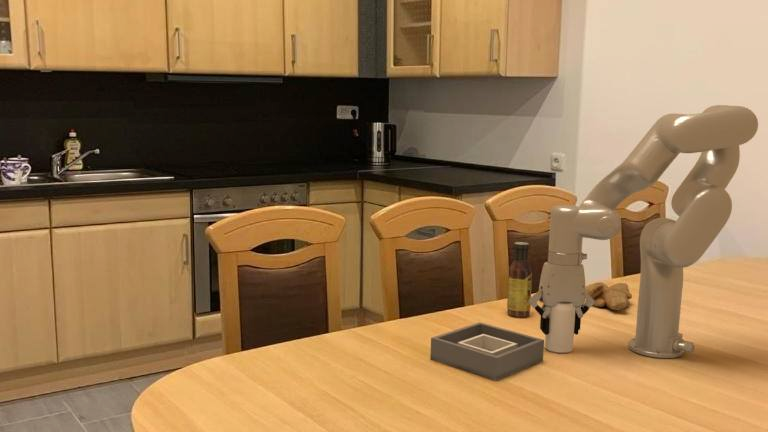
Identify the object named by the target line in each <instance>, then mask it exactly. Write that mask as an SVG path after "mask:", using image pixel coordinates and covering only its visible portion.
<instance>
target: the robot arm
mask: <svg viewBox="0 0 768 432" xmlns="http://www.w3.org/2000/svg"><path fill="white" fill-rule="evenodd" d="M758 128H759V120H758V118H757V115H756V114H755V112H754V111H752V110H751V109H749V108H748V107H745V106H740V105H727V104H717V105H711V106H708V107H707V108H705V109H704V110H703V111H702V112H701V113H691V114H690V113H689V114H684V113H668V114H664V115H662V116H661V117H659V118H658V119H657V120H656V121H655V123H654V124H653V125H652V126H651V127H650V129H649V130H648V131H647V132H646V133H645V135H644V136H643V137H642V138H641V140H640V141H639V142H638V144H637V145H636V146H635V147H634V148H633V150H632V151H631V152H630V153H629V155H628V156H627V157H626V158H625V159H624V160H623V162H622V163H620V164H619V165H617V166H616V167H615V168H614V169H613V170H612V171H611V172H609V173H608V174H607V175H605V176H604V177H603V179H601V180H600V181H599V182H598V183H597V184H596V185H595V186H594V187H593V189H592V190H590V192H589V193H588V194H587V196H586V197H585V198H584V199H583V201H582V202H581V204H579V206H577V205H573V204H558V205H554V206H553V207H552V208H551V211H550V220H549V221H550V222H549V235H548V236H549V238H548V251H547V261H545V262H544V263H543V266H542V269H541V274H540V279H539V284H538V285H539V287H538V291H537V292H535V294H533V295H531V298H530V299H529V300H528V302H529V303H530V304H531V305H530V306H531V307H532V308H533V309H534V310H535V311H536V312H537V313H538V314H539V315H540V321H539V322H540V323H539V328H540V331H541V332H542V333H543V334H544V335H545V336H546V335H548V334H549V318H548V314H549V312H550V311H551V308H552V307H555V306H557V304H558V303H572V305H573V306H574V307H575V325H574V335H576V336H577V335H579V330H581V325H582V323H581V321H582V318H583V317H584V315H585V314H587V312H588V311H589V310H590V309H591V308H592V306H594V305H593V304H594V303H595V300H594V299H593V298H592V297H591V296H590V295H589V294H588V293H586V292H585V287H586V276H585V267H584V264H583V261H584V260H588V254H587V253H583V252H582V251H583V241H584V239H585V238H586V239H591V240H592V239H593V240H598V241H606V240H607V241H608V240H610V239H613V238H616V236H618V234H619V233H620V231H621V228H622V220H621V217H620V216H619V214H618V213H617V212H616V211H615V210H616V209H617V207H618V206H619V205H620V204H621V203H622V202H624V201H625V200H626V199H627V198H629V197H630V196H632V195H634V194H636V193H638V192H641V191H644V190H647V189H648V188H650V187H652V186H654V185H655V184H656V183H657V182H658V180H659V179H660V178H661V176H662V175H663V174H664V173H665V172H666V170H667V169H668V168H670V167H669V166H670V165H671V164H672V163H673V162H674V161H675V159H676V158H677V157H678V155H680V154H696V153H700V155H699V157H698V159H697V161H696V162H695V164H694V166H693V167H692V168H691V170H690V171H689V173H687V175H686V176H685V178H684V179H683V181H682V182H681V184H680V185H679V186H678V187H677V188H676V190H675V191H674V193H673V195H672V196H671V197H672V198H671V202H670V203H671V204H670V205H671V208H672V210H673V213H674V214H676V215H677V216H678V218H677V219H676V220H675V219H672V218H667V217H657V218H654V219H652V220H650V221H648V222H647V223H646V224H645V226H644V227H643V229H642V230H641V233H640V237H639V250H640V251H639V253H640V277H639V278H640V279H639V288H638V299H637V300H638V301H637V311H636V312H637V315H636V326H635V327H636V328H635V336H634V337H633V338H631V339H629V340H628V344H627V346H628V349H629V350H631V351H632V352H634V353H635V354H639V355H643V356H646V357H651V358H659V359H674V358H679V357H681V356H683V355H684V352H686V353H690V354H693V353H694V351H695V345H694V342H692V341H687V340H684V339H683V333H681V332H680V333H679V330H680V321H681V320H680V319H681V318H680V317H681V310H682V309H681V308H682V307H681V306H682V297H683V289H684V288H683V286H684V268H688V267H690V266H693V265H694V264H695V263H697V261H699V260H700V259H701V258H702V257H703V256H704V254H705V253H706V251H707V250H708V249H709V248H710V246H711V245H712V244H713V242H714V241H715V239H716V238H717V237H718V235H719V234H720V232H721V231H722V230H723V228H724V227H725V226H726V224H727V223H728V221H729V218H730V217H731V213H732V210H733V209H732V208H733V201H732V198H731V196H730V194H729V192H728V191H727V190H726V188H727V187H728V185H729V184H730V183H731V181H732V179H733V177H734V176H735V174H736V172H737V170H738V168H739V164H740V159H741V152H740V151H741V150H740V146H742V145H745V144H747V143H748V142H749V141H751V140H752V139H753V138H754V137H755V136H756V134H757V132H758ZM583 238H584V239H583ZM538 301H539V302H540V303H542V305H541V307H540V305H539V304H538Z"/></svg>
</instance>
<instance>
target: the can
mask: <svg viewBox="0 0 768 432" xmlns="http://www.w3.org/2000/svg"><path fill="white" fill-rule="evenodd" d="M548 318H549V334H548V335H545V337H544V349H546V350H547V351H548V352H551V353H554V354H555V353H556V354H570V353H571V352H572V351H573V350H574V337H575V336H574V335H575V334H574V325H575V307H574V306H573V305H572V303H558V304H557V306H555V307H552V308H551V311H550V312H549V314H548Z"/></svg>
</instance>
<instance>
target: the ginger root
mask: <svg viewBox="0 0 768 432" xmlns="http://www.w3.org/2000/svg"><path fill="white" fill-rule="evenodd" d="M585 292H586V293H588V294H589V295H590V296H591V297H592V298H593V299H594V300H595V303H594V304H593V305H592V306H594V307H595V308H603V307H607V308H609V310H613V311H619V310H624V309H625V308H626V307H627V306H629V305H630V300H631V299H632V298H633V295H632V294H633V293H631V292H630V290H629V285H628V284H627V283H625V282H624V283H623V282H620V283H619V282H617V283H615V284H613V285H609V286H608V285H607V284H606V283H604V282H602V281H601V282H595V283H591V284H590V283H589V284H587V285H585Z"/></svg>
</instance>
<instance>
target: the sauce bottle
mask: <svg viewBox="0 0 768 432" xmlns="http://www.w3.org/2000/svg"><path fill="white" fill-rule="evenodd" d="M529 249H530V243H529V242H523V241H516V242H514V243H513V250H514V253H513V261H512V262H511V264H510V266H509V268H508V278H507V282H508V283H507V300H506V301H507V304H506V306H507V307H506V309H507V315H508V316H510V317H513V318H526V317H529V316H530V315H531V314H530V313H531V306H532V305H531V304H530V303H529V302H528V300H529V299H530V298H531V297H532V279H533V271H532V268H531V265H530V261H529Z"/></svg>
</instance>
